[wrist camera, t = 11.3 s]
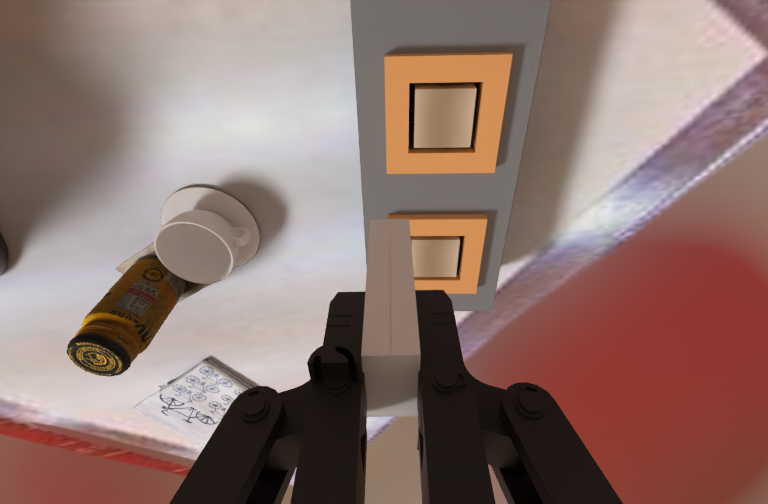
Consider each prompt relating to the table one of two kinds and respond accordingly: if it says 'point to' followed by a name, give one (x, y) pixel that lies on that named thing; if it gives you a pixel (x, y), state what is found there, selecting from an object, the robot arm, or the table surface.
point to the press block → (447, 165)
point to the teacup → (205, 235)
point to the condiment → (128, 315)
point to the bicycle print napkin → (194, 401)
